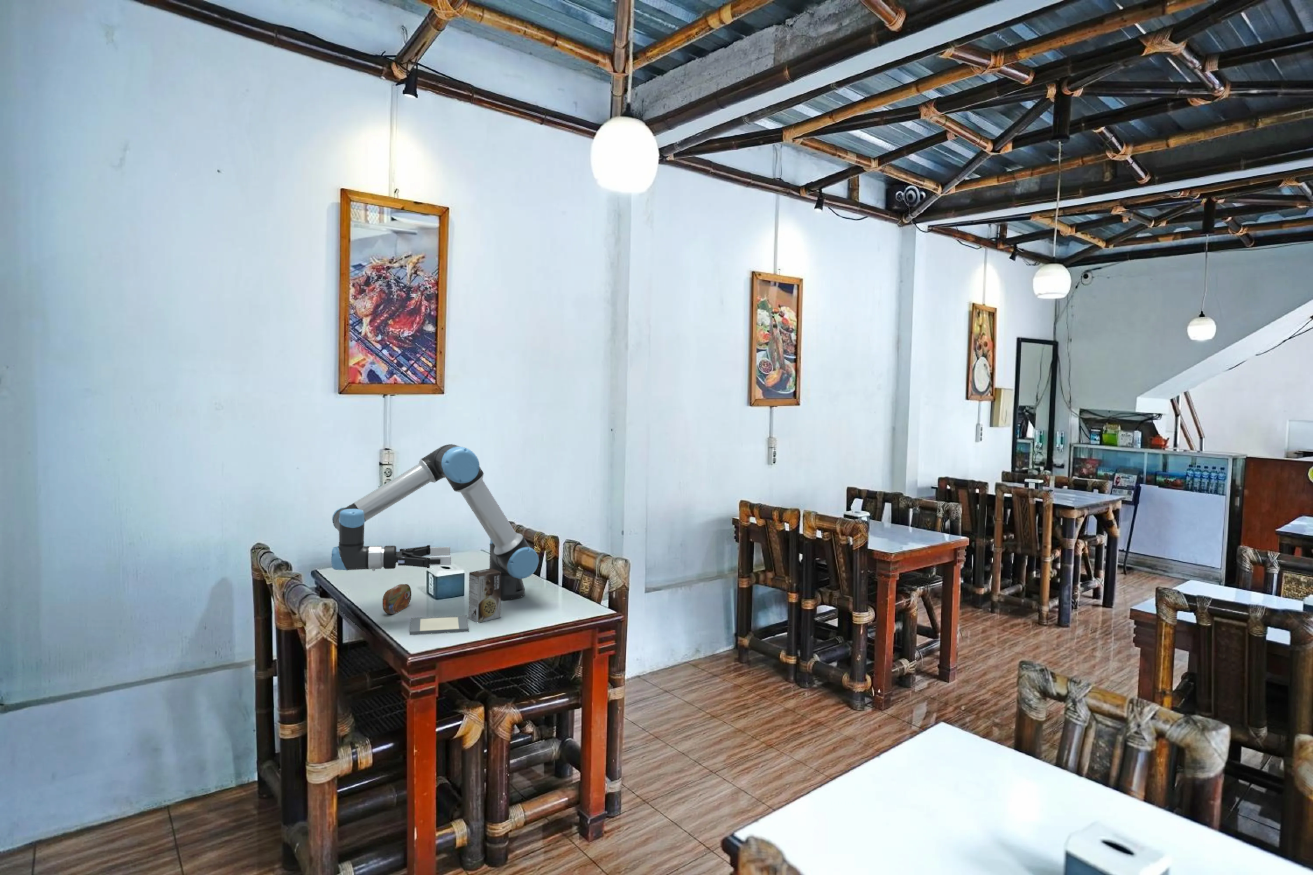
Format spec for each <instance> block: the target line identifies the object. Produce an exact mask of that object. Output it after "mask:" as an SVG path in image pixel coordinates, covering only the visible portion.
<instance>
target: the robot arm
mask: <svg viewBox="0 0 1313 875" xmlns="http://www.w3.org/2000/svg"><path fill="white" fill-rule="evenodd" d="M484 474H485V473H484V471H483V470H482V468H481V467H480V461H479V458H478V456H477V455H476V454H475V453H474V452H473V451H472V450H471V449H469V448H467V447H464V446H459V445H457V444H453V443H451V444H449V443H448V444H445V445H442V446H440V447H438V448H437V449H434V450H433V451H432V452H430V453H428V454H427V455H425V456H424V457H422V458H420V459H419V461H418V463H417V464H416V465H414V466H413V467H411V468H410V469H408V470H406V471H404V472H403V473H401V474H400V475H398V476H395V477H394V478H393V479H391V480H390V481H388V482H386V483H384V484H383V485H381V486H379V487H378V488H376V489H375V490H372V491H371V492H369V493H368V494H366V495H364V496H363V497H360V499H358V500H356V501H354V502H353V503H351V504H349V505H347V506H346V507H340V508H337V509H336V510H335V511H334V513H333V514H332V517H331V521H332V524H333V527H334V528H335V529H337V531H338V546H334V547H332V550H331V558H330V560H331V561H330V563H331V564H330V565H331V568H332V569H333V570H335V571H337V570H338V571H359V570H360V571H361V570H372V571H373V572H375V571H376V570H381V569H385V570H391V569H393V570H395V569H396V567H397V566H404V567H405V566H408V567H417V568H418V567H419V568H426V569H430V568H431V566H451V565H452V555H451V546H443V547H442V546H440V547H438V546H436V547H434V546H433V547H431V545H430V544H427V545H424V546H419V547H409V548H399V551H397V546H396V545H385V546H384V547H383V546H382V545H365V523H366V522H367V521H368V520H370V519H372V518H374V517H375V516H377V515H378V514H380V513H382V512H383V511H385V510H387V509H388V508H390V507H392V506H393V505H395V504H397V503H399V502H400V501H401V500H404V499H405V498H406V497H408V496H410V495H411V494H413V493H415V492H417V491H418V490H420V489H422V488H423V487H424V486H426V485H427V484H429V483H436V482H438V481H441V480H443V479H446V481H447V482H448V484H449V485H450V487H451V488H452V490H453V491H454V492H457V493H460V494H461V495H462V497H463V498H464V500H465V501H466V503H467V505H468V506H469V508H470V509H471V512H473V514H474V515H475V517H476V519H477V520H478V521H479V523H480V525H481V527H482V528H483V530H484V531H485V532H486V534H487V536H488V537H489V539H490V540H489V541H490V542H489V568H488V569H490V568H492V569H495V570H497V571H499V572H501V601H509V600H516V599H520V598H523V597H524V596H525V592H526V590H525V585H524V582H523V579H526V578H529V577H530V576H532V575H533V574H534V573H535V572H536V570H537V568H538V565H539V562H540V559H539V555H538V553H537V551H536V550H535V549H534V548H533V547H530V545H529V544H528V542H527V540H526V538H525V537H524V535H523V534H522V533H518V532H516V531H515V528H513V525H512V524H511V523H510V521H509V519H508V518H507V516H506V515H505V513H504V512H503V510H502V509H501V507H500V505H499V503H498V502H497V500H496V499H495V497H494V496H493V494H492V492H491V490H490V489H489V487H488V485H486V483H485V481H484V479H483V478H484V476H485V475H484ZM427 556H430V557H427Z"/></svg>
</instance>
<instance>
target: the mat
mask: <svg viewBox="0 0 1313 875" xmlns="http://www.w3.org/2000/svg"><path fill="white" fill-rule="evenodd" d="M469 629H470V628H469V622H468V615H467V614H463V615H461V614H460V615H441V616H440V615H439V616H422V617H410V626H409V635H410V636H411V635H414V636H415V635H426V634H428V635H429V634H431V633H432V634H445V633H444V632H446V634H448V633H447V632H450V633H465V632H464V631H468V632H470V630H469ZM432 634H431V635H432Z"/></svg>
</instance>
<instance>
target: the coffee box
mask: <svg viewBox="0 0 1313 875" xmlns="http://www.w3.org/2000/svg"><path fill="white" fill-rule="evenodd" d="M489 568H490V567H489ZM489 568H486V569H480V570H475V571H470V572H469V574H468V579H469V580H468V616H467V619H469V620H471V621H473V622H475V623H477V622H478V623H479V622H480V623H483V622H487V621H488V622H489V621H491V620H495V619H499V618H501V610H502V609H501V608H502V607H501V606H502V604H501V602H502V600H501V572H499V571H497V570H495V569H492V568H490V569H489ZM480 623H479V624H480Z"/></svg>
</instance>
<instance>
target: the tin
mask: <svg viewBox="0 0 1313 875" xmlns="http://www.w3.org/2000/svg"><path fill="white" fill-rule="evenodd" d="M411 600H412V589H411V586H410V585H409V584H408V583H405V584H403V583H400V584H397V585H396V586H395V585H394V586H393V587H391V588H389V589H387V590H386V591H385V593H384V594H383V597H382V610H383V613H386V614H387V615H395V614H398V613H399V612H401V611H403V610H405V609H406V608H407V607H409V605H410V603H411Z"/></svg>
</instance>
